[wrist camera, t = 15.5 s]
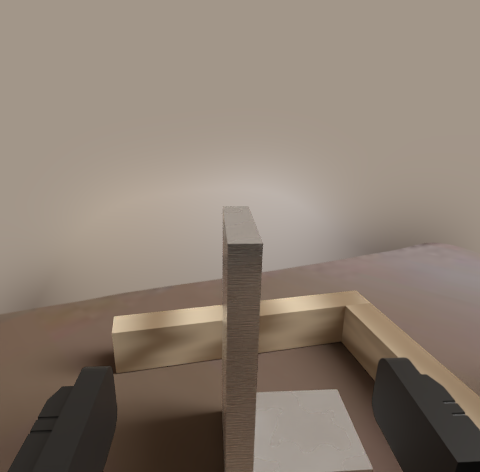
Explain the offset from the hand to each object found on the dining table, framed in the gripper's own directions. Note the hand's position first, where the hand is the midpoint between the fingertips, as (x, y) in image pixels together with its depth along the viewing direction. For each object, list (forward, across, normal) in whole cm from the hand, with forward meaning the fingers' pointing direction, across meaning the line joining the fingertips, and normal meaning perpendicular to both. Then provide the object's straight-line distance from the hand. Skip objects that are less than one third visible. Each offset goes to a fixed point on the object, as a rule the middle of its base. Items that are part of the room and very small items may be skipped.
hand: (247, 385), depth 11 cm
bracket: (+5, -3, +9) cm, 10 cm away
